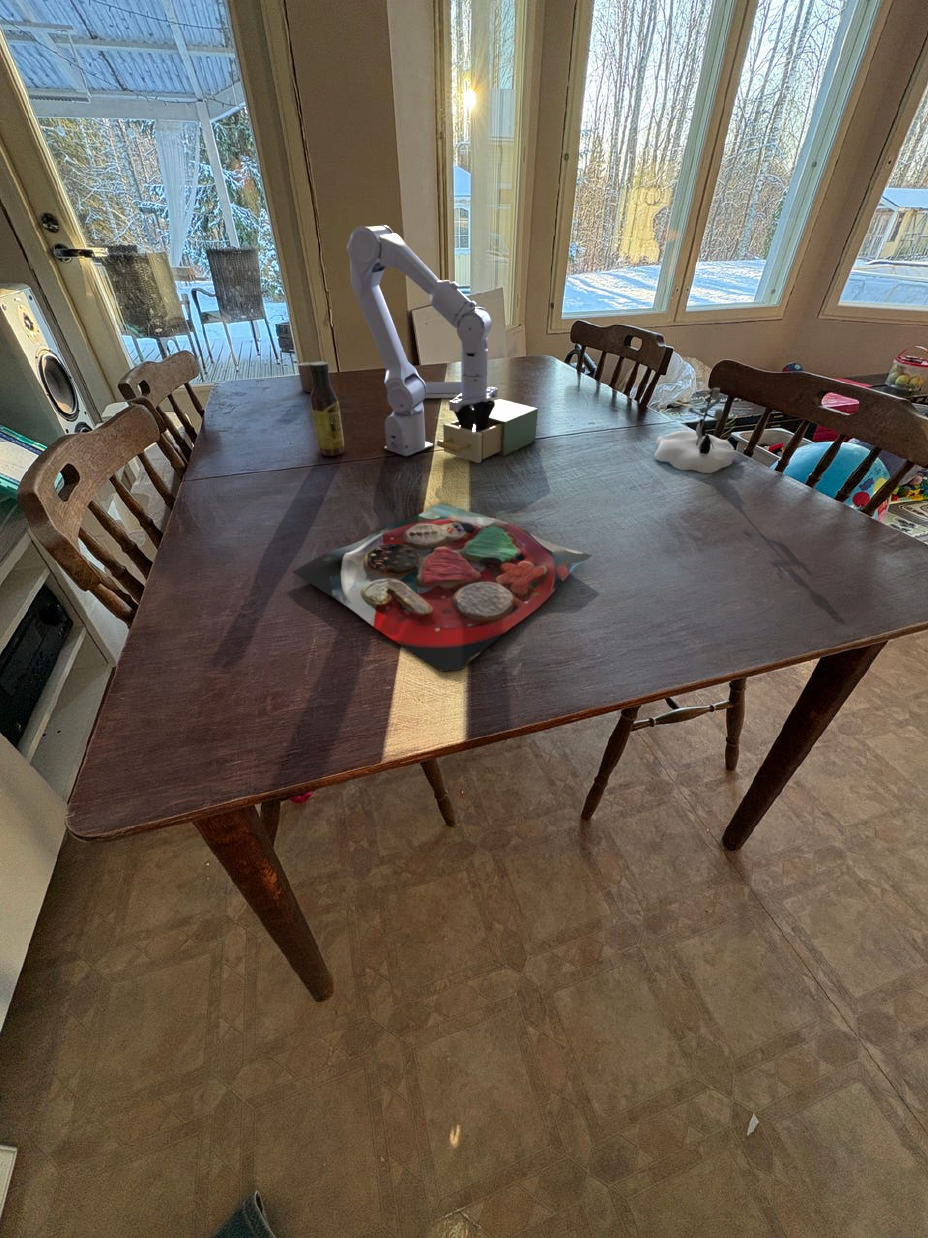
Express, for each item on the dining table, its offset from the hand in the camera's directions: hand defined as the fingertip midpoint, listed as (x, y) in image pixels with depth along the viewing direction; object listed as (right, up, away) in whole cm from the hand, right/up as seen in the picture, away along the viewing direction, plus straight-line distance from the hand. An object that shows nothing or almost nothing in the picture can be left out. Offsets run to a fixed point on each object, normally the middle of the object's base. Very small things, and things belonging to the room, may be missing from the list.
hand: (473, 435), depth 120 cm
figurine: (+52, -4, +2) cm, 52 cm away
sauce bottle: (-34, -3, +4) cm, 35 cm away
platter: (-6, -35, -36) cm, 51 cm away
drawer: (-1, -3, +2) cm, 4 cm away
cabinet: (+7, +2, +9) cm, 12 cm away
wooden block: (-52, +31, +45) cm, 75 cm away
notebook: (-8, +29, +43) cm, 52 cm away
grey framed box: (0, -1, +1) cm, 1 cm away
